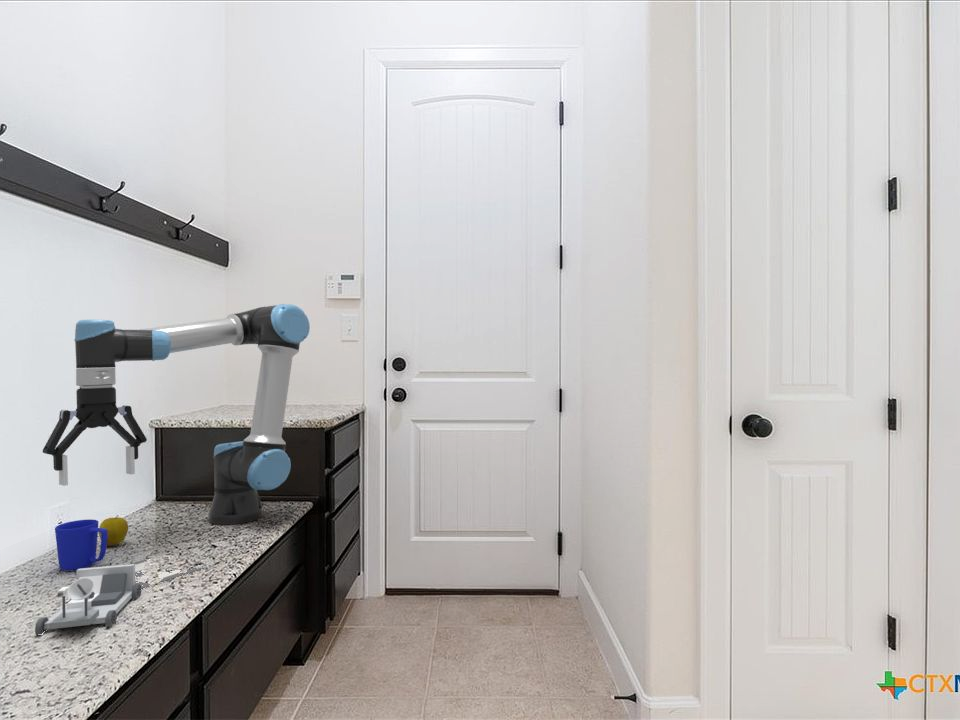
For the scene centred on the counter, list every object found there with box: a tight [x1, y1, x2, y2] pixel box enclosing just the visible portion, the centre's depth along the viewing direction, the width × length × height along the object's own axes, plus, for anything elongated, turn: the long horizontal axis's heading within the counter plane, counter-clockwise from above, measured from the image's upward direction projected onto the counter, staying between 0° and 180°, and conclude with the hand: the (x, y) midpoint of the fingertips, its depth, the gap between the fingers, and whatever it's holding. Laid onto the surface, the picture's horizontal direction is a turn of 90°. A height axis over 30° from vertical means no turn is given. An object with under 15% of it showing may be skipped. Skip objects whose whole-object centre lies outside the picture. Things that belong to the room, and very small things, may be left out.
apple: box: [98, 514, 129, 547], centre depth 146 cm, size 6×6×8 cm
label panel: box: [126, 559, 208, 590], centre depth 127 cm, size 16×18×1 cm
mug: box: [54, 518, 108, 572], centre depth 130 cm, size 8×12×10 cm
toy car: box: [34, 563, 142, 636], centre depth 104 cm, size 18×10×12 cm
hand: (98, 479), depth 129 cm, fingers open, 13 cm apart
